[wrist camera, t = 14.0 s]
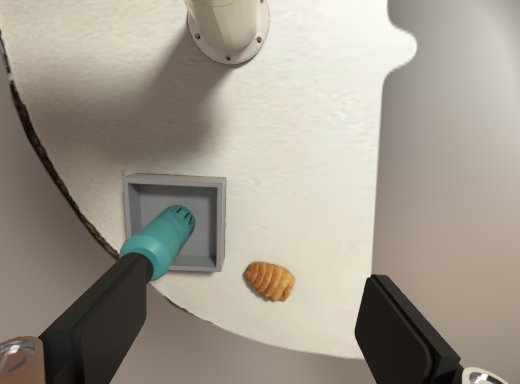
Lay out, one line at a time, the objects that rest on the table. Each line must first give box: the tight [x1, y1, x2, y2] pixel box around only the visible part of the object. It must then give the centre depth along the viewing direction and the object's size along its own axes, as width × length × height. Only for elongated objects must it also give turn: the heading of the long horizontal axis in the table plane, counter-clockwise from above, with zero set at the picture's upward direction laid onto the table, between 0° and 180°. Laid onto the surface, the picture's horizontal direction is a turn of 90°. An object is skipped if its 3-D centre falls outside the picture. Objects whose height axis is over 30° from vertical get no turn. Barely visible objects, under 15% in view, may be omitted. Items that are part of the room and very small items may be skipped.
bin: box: [122, 173, 226, 272], centre depth 44 cm, size 16×16×5 cm
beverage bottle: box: [119, 205, 196, 284], centre depth 36 cm, size 6×7×20 cm
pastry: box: [246, 262, 295, 302], centre depth 48 cm, size 9×7×4 cm
